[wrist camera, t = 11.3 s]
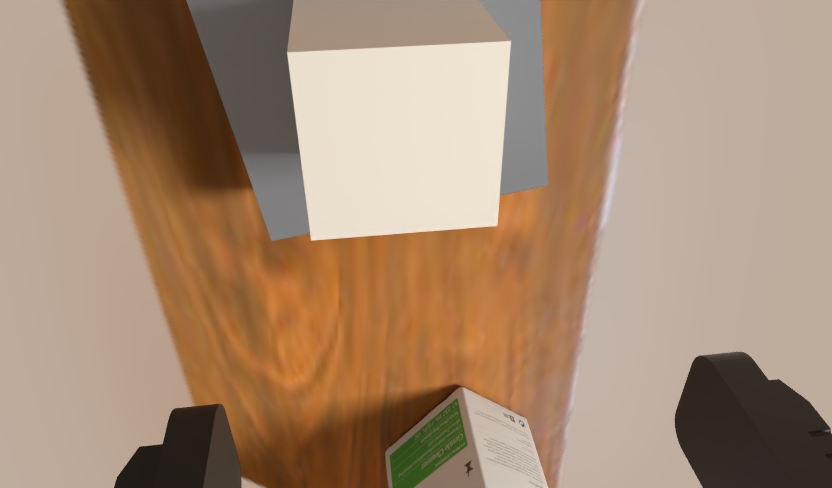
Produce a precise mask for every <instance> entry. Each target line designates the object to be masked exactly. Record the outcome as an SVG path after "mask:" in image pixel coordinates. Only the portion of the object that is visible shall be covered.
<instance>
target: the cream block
mask: <svg viewBox="0 0 832 488" xmlns="http://www.w3.org/2000/svg"><path fill="white" fill-rule="evenodd" d="M510 49H511V40H510V39H509V38H508V36H507V35H506V34H505V33H504V31H503V30H502V29H501V28H500V26H499V25H498V24H497V22H496V21H495V20H494V19H493V17H492V16H491V15H490V14H489V12H488V11H487V10H486V8H485V7H484V6H483V5H482V3H481V2H480V1H479V0H293V8H292V17H291V25H290V33H289V41H288V49H287V56H288V63H289V71H290V79H291V87H292V95H293V102H294V110H295V118H296V126H297V134H298V141H299V149H300V157H301V165H302V173H303V180H304V188H305V196H306V204H307V212H308V219H309V227H310V235H311V240H324V239H337V238H349V237H362V236H375V235H387V234H400V233H413V232H425V231H438V230H451V229H463V228H476V227H489V226H497V223H498V210H499V197H500V183H501V170H502V156H503V143H504V129H505V116H506V103H507V89H508V76H509V62H510Z"/></svg>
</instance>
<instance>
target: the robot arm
mask: <svg viewBox="0 0 832 488" xmlns="http://www.w3.org/2000/svg"><path fill="white" fill-rule="evenodd" d="M675 428H676V434H677V438H678V441H679V444H680V446H681V448H682V450H683V452H684V454H685V456H686V458H687V459H688V461H689V463H690V465H691V467H692V469H693V470H694V472H695V474H696V476H697V478H698V479H699V481H700V483H701V485H702V487H703V488H832V434H831V431H830V430H831V429H830V428H829V426H828V425H827V424H826V422H825V421H824V420H823V419H822V418H821V416H820V415H819V414H818V412H817V411H816V410H815V409H814V407H813V406H812V405H811V404H810V402H808V401H807V400H806V399H805V398H803V397H802V396H801V395H799V394H798V393H797V392H795V391H794V390H793V389H791V388H790V387H789V386H787V385H786V384H784V383H783V382H782V381H780V380H779V379H778V380H768V379H767V377H766V376H765V375H764V373H763V372H762V371H761V369H760V368H759V367H758V365H757V364H756V363H755V361H754V360H753V359H752V358H751V357H750V356H749V355H748V354H746V353H744V352H732V353H722V354H712V355H703V356H698V357H696V358H695V359H694V361H693V363H692V366H691V368H690V372H689V375H688V377H687V380H686V383H685V386H684V389H683V392H682V395H681V398H680V401H679V404H678V407H677V410H676V414H675ZM114 488H241V469H240V462H239V458H238V454H237V451H236V447H235V444H234V440H233V437H232V433H231V430H230V426H229V423H228V419H227V416H226V412H225V409H224V407H223V405H222V404H213V405H204V406H194V407H186V408H176V409H174V410H172V412H171V414H170V417H169V420H168V424H167V429H166V433H165V437H164V441H163V444H161V445H153V446H143V447H139V448H138V449H137V451H136V452H135V454H134V455H133V456H132V458H131V459H130V461H129V462H128V463H127V465H126V466H125V467H124V469H123V470H122V471H121V473H120V474H119V476H118V477H117V480H116V483H115V486H114Z"/></svg>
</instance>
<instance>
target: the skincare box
mask: <svg viewBox="0 0 832 488" xmlns="http://www.w3.org/2000/svg"><path fill="white" fill-rule="evenodd" d="M385 459H386V469H387V479H388V488H548V486H547V483H546V480H545V476H544V473H543V470H542V467H541V464H540V461H539V457H538V454H537V451H536V448H535V444H534V441H533V438H532V435H531V432H530V429H529V426H528V423H527V420H526V418H524V417H522V416H520V415H518V414H516V413H514V412H512V411H510V410H508V409H506V408H504V407H502V406H500V405H499V404H496V403H494V402H492V401H490V400H488V399H486V398H484V397H482V396H480V395H478V394H476V393H474V392H472V391H470V390H468V389H466V388H464V387H459V388H458V389H457V390H455V391H454V392H453V393H452V394H451V395H450V396H449V397H448V398H447V399H446V400H444V401H443V402H442V403H441V404H439V405H438V406H437V407H436V408H434V409H433V410H432V411H431V412H430V413H429V414H428V415H427V416H425V417H424V418H423V419H422V420H421V421H420V422H419V423H417V424H416V425H415V426H414V427H413V428H412V429H411V430H409V431H408V432H407V433H406V434H405V435H404V436H402V437H401V438H400V439H399V440H398V441H397V442H395V443H394V444H393V445H392V446H390V447H389V448H388V449H387V450H386V452H385Z"/></svg>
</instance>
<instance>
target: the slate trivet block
mask: <svg viewBox="0 0 832 488" xmlns="http://www.w3.org/2000/svg"><path fill="white" fill-rule="evenodd" d="M186 1H187V4H188V7H189V10H190V12H191V15H192V18H193V21H194V24H195V26H196V29H197V32H198V35H199V38H200V41H201V43H202V46H203V49H204V52H205V55H206V57H207V60H208V63H209V66H210V69H211V72H212V74H213V77H214V80H215V83H216V86H217V88H218V91H219V94H220V97H221V100H222V102H223V105H224V108H225V111H226V114H227V117H228V119H229V122H230V125H231V128H232V131H233V133H234V136H235V139H236V142H237V145H238V148H239V150H240V153H241V156H242V159H243V162H244V164H245V167H246V170H247V173H248V176H249V179H250V181H251V184H252V187H253V190H254V193H255V195H256V198H257V201H258V204H259V207H260V209H261V212H262V215H263V218H264V221H265V224H266V226H267V229H268V232H269V235H270V238H271V240H272V241H274V240H279V239H284V238H289V237H294V236H299V235H304V234H309V233H310V227H309V219H308V212H307V204H306V196H305V188H304V180H303V173H302V165H301V157H300V149H299V141H298V134H297V126H296V118H295V110H294V102H293V95H292V87H291V79H290V71H289V63H288V56H287V49H288V41H289V33H290V25H291V17H292V8H293V0H186ZM479 1H480V2H481V3H482V5H483V6H484V7H485V8H486V10H487V11H488V12H489V14H490V15H491V16H492V17H493V19H494V20H495V21H496V22H497V24H498V25H499V26H500V28H501V29H502V30H503V31H504V33H505V34H506V35H507V36H508V38H509V39H510V40H511V49H510V62H509V76H508V89H507V103H506V116H505V129H504V143H503V156H502V170H501V183H500V195H505V194H510V193H515V192H520V191H525V190H530V189H535V188H540V187H545V186H548V174H547V149H546V123H545V98H544V73H543V48H542V23H541V0H479Z"/></svg>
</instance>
